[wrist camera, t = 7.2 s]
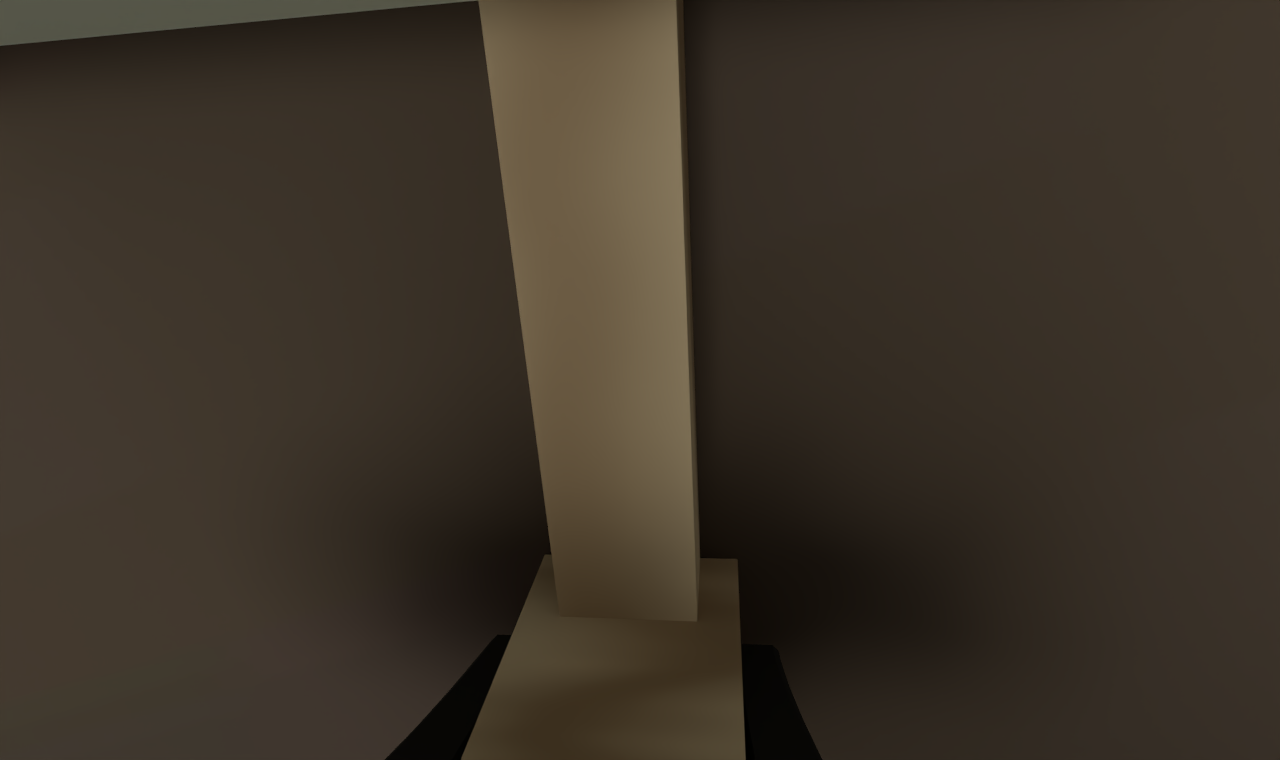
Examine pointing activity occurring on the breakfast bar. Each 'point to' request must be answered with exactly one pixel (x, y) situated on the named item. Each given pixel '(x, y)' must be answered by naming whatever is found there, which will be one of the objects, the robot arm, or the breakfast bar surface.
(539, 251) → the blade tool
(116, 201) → the breakfast bar surface
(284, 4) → the pale chair
